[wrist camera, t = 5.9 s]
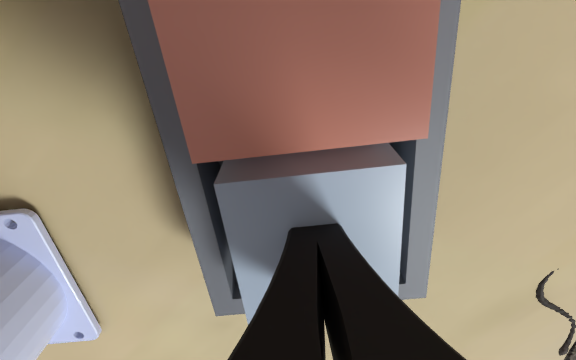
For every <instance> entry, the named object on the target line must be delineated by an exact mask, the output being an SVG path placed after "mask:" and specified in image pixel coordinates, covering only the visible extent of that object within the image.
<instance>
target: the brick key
mask: <svg viewBox="0 0 576 360" xmlns="http://www.w3.org/2000/svg"><path fill="white" fill-rule="evenodd" d="M148 3H149V7H150V11H151V14H152V18H153V22H154V25H155V29H156V33H157V36H158V40H159V44H160V47H161V51H162V55H163V58H164V62H165V66H166V69H167V73H168V77H169V80H170V84H171V88H172V91H173V95H174V99H175V103H176V106H177V110H178V114H179V117H180V121H181V125H182V128H183V132H184V136H185V139H186V143H187V147H188V150H189V154H190V158H191V161H192V164H197V163H206V162H215V161H224V160H233V159H243V158H252V157H261V156H270V155H279V154H289V153H298V152H307V151H316V150H325V149H335V148H344V147H353V146H362V145H371V144H381V143H390V142H399V141H408V140H417V139H427V138H428V133H429V122H430V111H431V100H432V89H433V78H434V68H435V57H436V46H437V35H438V24H439V14H440V3H441V0H148Z"/></svg>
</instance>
